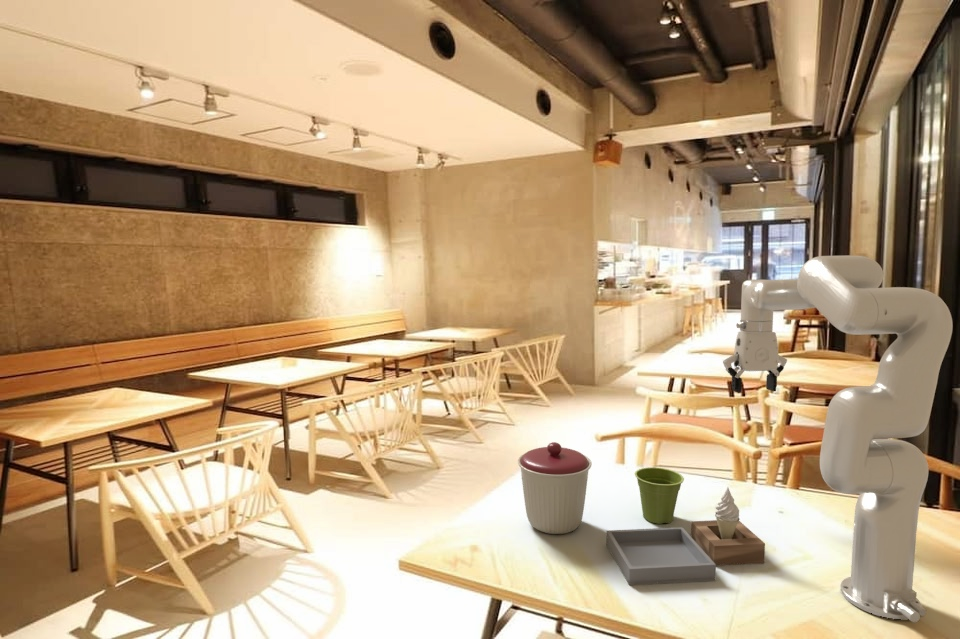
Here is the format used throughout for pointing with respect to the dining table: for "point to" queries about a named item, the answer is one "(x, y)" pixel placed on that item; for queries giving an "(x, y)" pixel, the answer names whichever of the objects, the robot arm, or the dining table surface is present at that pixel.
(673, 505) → the plant pot
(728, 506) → the ice cream cone
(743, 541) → the cone stand
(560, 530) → the canister
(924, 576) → the dining table surface
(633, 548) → the grey tray
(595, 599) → the dining table surface
